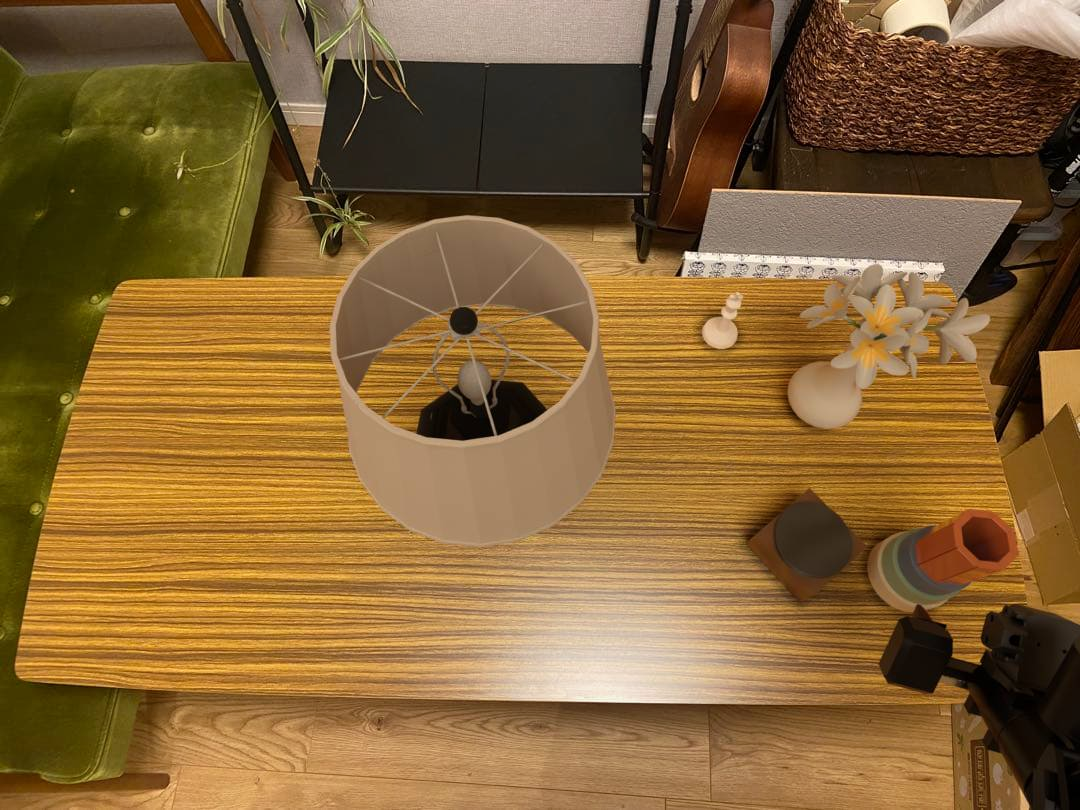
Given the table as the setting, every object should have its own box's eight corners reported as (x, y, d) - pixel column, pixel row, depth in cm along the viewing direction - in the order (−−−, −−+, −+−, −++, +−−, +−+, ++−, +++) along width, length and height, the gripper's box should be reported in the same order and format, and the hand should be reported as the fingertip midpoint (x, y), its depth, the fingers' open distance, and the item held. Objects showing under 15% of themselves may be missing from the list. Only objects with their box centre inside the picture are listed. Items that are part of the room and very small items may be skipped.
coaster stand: (850, 556, 86) (870, 545, 81) (799, 603, 83) (816, 594, 78) (796, 500, 89) (811, 486, 84) (745, 544, 86) (758, 532, 81)
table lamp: (563, 365, 97) (576, 146, 61) (630, 552, 86) (694, 419, 50) (369, 417, 94) (262, 217, 57) (413, 618, 83) (314, 528, 47)
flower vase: (902, 438, 92) (1020, 342, 70) (766, 456, 91) (840, 365, 69) (868, 352, 98) (968, 237, 75) (739, 368, 97) (801, 257, 74)
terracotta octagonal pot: (983, 561, 77) (1029, 544, 69) (948, 596, 75) (992, 582, 68) (939, 519, 79) (979, 497, 71) (903, 552, 77) (941, 533, 70)
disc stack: (958, 580, 85) (1003, 564, 76) (910, 628, 82) (950, 617, 74) (899, 523, 88) (936, 501, 79) (851, 567, 85) (884, 550, 77)
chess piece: (738, 349, 98) (759, 310, 89) (703, 348, 98) (720, 309, 89) (735, 319, 100) (754, 277, 91) (700, 318, 100) (716, 277, 91)
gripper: (1220, 696, 51) (1102, 578, 66) (956, 626, 53) (897, 526, 68) (1145, 805, 55) (1049, 671, 70) (902, 736, 57) (857, 620, 72)
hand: (964, 620), depth 70 cm, fingers open, 9 cm apart
